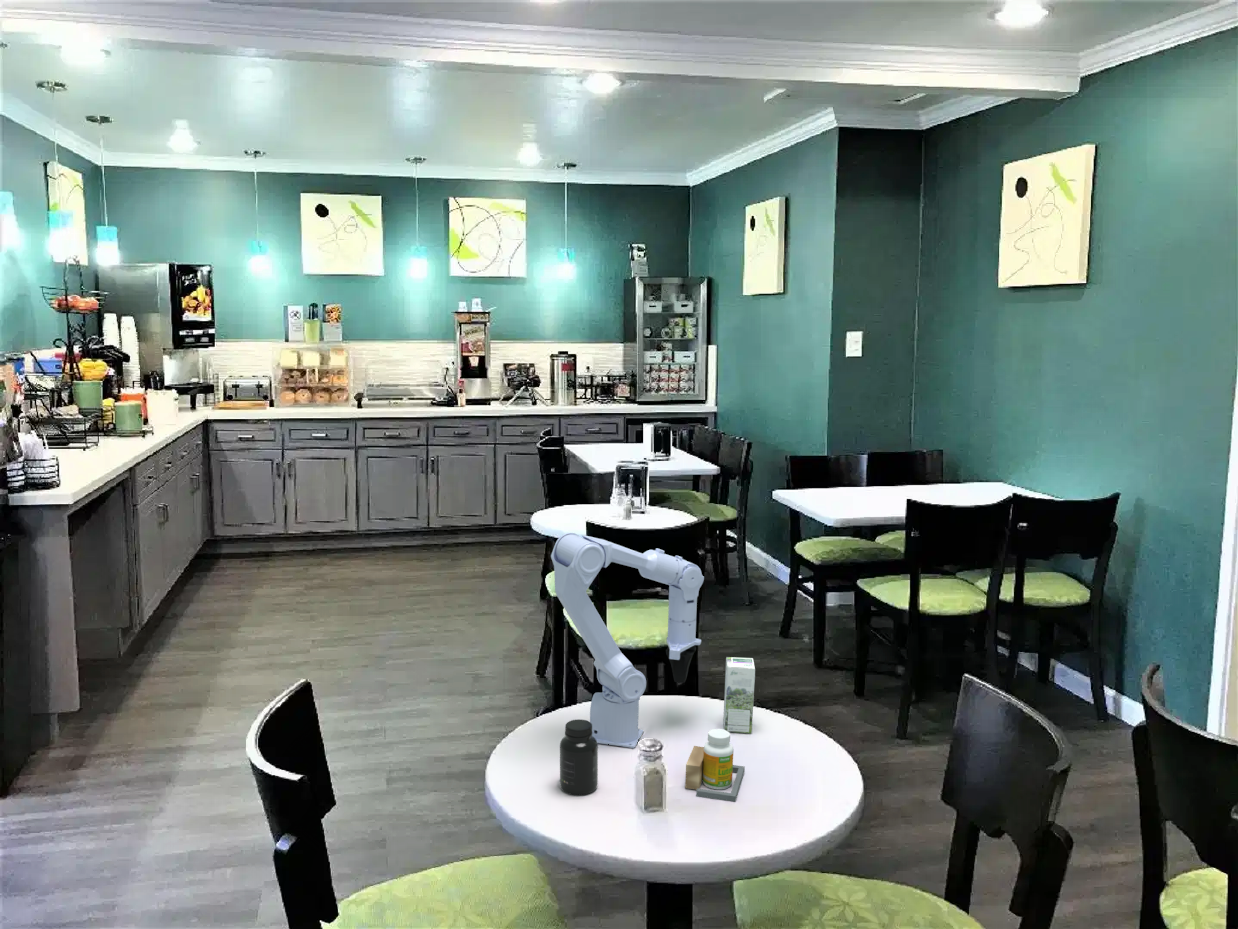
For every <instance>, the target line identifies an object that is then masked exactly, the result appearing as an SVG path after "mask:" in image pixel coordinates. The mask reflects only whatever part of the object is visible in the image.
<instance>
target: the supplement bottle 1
mask: <svg viewBox="0 0 1238 929" xmlns="http://www.w3.org/2000/svg"><path fill="white" fill-rule="evenodd" d="M564 727H565V730H564V735H565V736H564V737H563V738H562V739H561V740H560V743H559V786H560V788H561V790H562V791H563V792H564V793H566V794H569V795H572V796H585V795H588V794H590V793H593V792H595V791H596V789H597V788H598V785H599V784H598V782H599V781H598V777H599V776H598V775H599V774H598V773H599V770H598V768H599V767H598V766H599V761H598V760H599V751H598V748H599V745H598V744H599V743H597V741H596V739H595V738H594V737H593V736H592V734H593V732H592V724H591V722H590V720H586V719H571V720H569V721H567V722H566V724H565V726H564Z"/></svg>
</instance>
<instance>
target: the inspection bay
mask: <svg viewBox="0 0 1238 929" xmlns="http://www.w3.org/2000/svg"><path fill="white" fill-rule="evenodd" d="M745 768H746V766H744V765H743V766H742V765H737V764H733V772H732V773H734V774H736V775H735V778H734V782H733V783H732V788H731V792H727V791H726V792H725V791H718V790H714V789H712V790H711V789H705V788H697V790H695V791H696V792H695V794H696V795H695V796H696V797H699V798H707V799H715V800H721V801H727V802H733V803H735V802H736V801H737V798H738V795H739V791H740V788H741V786H742V781H743V777H744V774H745Z"/></svg>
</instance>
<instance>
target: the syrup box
mask: <svg viewBox="0 0 1238 929" xmlns="http://www.w3.org/2000/svg"><path fill="white" fill-rule="evenodd" d="M755 680H756V668H755V662H754V658H753V657H737V656H736V657H735V656H734V657H732V656H731V657H730V656H726V658H725V676H724V695H723V696H724V699H723V700H724V702H723V718H722V719H723V730H726V731H728V732H729V733H733V734H734V733H736V734H752V732H753V717H754V714H753V713H754V699H755V696H754V695H755Z"/></svg>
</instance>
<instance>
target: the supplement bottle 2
mask: <svg viewBox="0 0 1238 929" xmlns="http://www.w3.org/2000/svg"><path fill="white" fill-rule="evenodd" d="M703 747H704V755H703V780H702V783H703V785H704V786H706V787H707V788H709V789H712V790H717V791H718V790H726V789H728V788H730V787H731V786H732V785H733V773H734V772H733V765H734V746H733V744H732V743H731V732H728V731H726V730H724V728H714V729H709V731H708V732H707V742H705V744H704V745H703Z"/></svg>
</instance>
